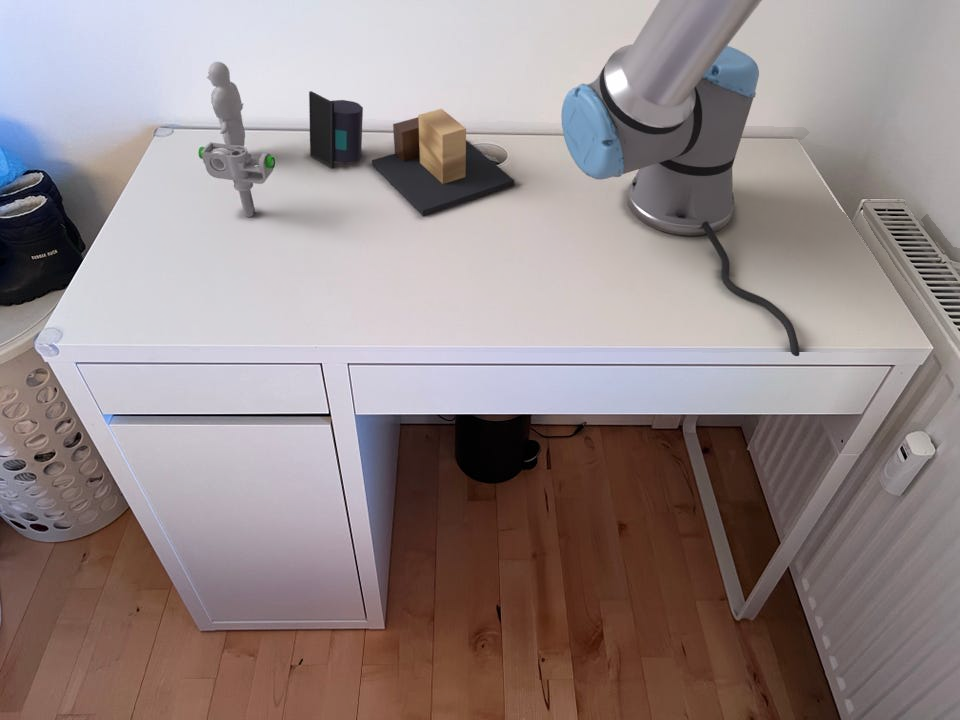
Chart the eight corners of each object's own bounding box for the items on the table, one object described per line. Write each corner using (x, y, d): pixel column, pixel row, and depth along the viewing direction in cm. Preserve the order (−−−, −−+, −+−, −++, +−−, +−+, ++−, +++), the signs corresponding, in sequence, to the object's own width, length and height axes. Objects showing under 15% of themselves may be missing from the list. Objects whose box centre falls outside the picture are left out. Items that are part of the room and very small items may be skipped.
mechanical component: (279, 224, 105) (267, 161, 98) (211, 214, 106) (194, 151, 99) (287, 213, 107) (276, 150, 100) (220, 203, 108) (204, 140, 101)
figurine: (236, 140, 121) (215, 48, 110) (259, 142, 121) (240, 50, 110) (214, 171, 114) (190, 75, 103) (240, 173, 114) (218, 77, 103)
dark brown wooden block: (451, 152, 118) (451, 122, 114) (407, 165, 115) (406, 135, 111) (438, 140, 120) (438, 111, 117) (394, 153, 117) (392, 123, 114)
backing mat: (514, 185, 113) (514, 180, 113) (422, 216, 107) (422, 210, 106) (459, 140, 123) (459, 134, 122) (372, 165, 116) (371, 159, 116)
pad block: (465, 177, 113) (466, 128, 107) (442, 184, 111) (442, 135, 106) (442, 156, 117) (441, 108, 111) (419, 163, 115) (418, 114, 110)
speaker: (321, 172, 114) (318, 106, 108) (309, 156, 118) (306, 91, 111) (368, 165, 117) (368, 101, 111) (355, 150, 121) (354, 87, 114)
